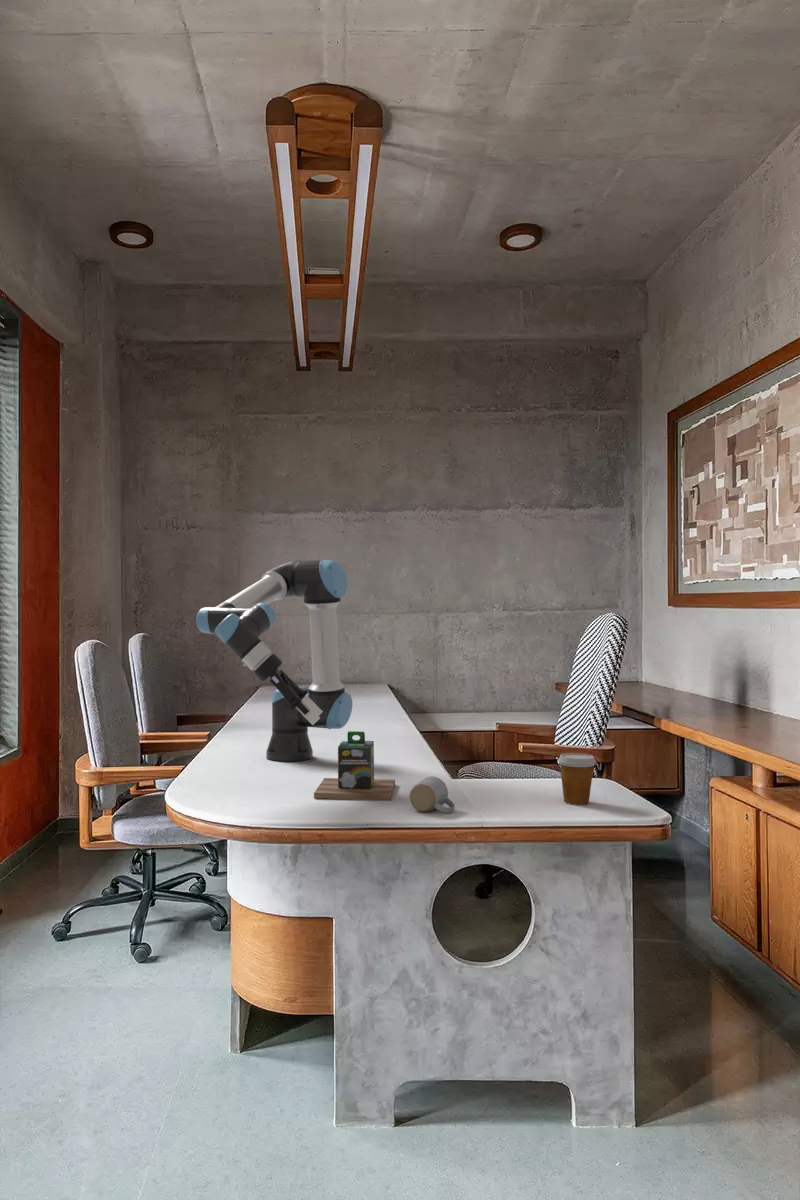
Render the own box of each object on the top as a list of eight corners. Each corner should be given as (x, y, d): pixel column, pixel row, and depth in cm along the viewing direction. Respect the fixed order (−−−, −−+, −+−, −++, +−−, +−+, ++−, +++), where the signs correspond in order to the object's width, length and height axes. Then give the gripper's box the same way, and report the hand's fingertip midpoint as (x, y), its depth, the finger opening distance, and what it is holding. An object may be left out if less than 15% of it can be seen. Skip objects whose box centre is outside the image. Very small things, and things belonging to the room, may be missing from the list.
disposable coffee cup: (598, 806, 226) (599, 759, 226) (560, 806, 226) (561, 758, 226) (591, 798, 236) (591, 753, 236) (555, 798, 236) (555, 752, 236)
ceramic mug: (407, 811, 219) (408, 780, 219) (420, 804, 226) (421, 774, 226) (447, 817, 214) (448, 785, 214) (459, 810, 222) (460, 779, 222)
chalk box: (374, 782, 246) (374, 728, 246) (371, 789, 237) (372, 733, 237) (340, 781, 246) (341, 728, 246) (337, 788, 237) (337, 732, 237)
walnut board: (324, 783, 252) (324, 777, 252) (395, 784, 251) (395, 779, 251) (313, 798, 232) (314, 792, 232) (390, 800, 231) (390, 794, 231)
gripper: (258, 668, 253) (310, 721, 253) (246, 675, 228) (304, 734, 228) (277, 650, 253) (329, 703, 253) (267, 655, 228) (325, 714, 229)
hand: (318, 718), depth 241 cm, fingers open, 13 cm apart
